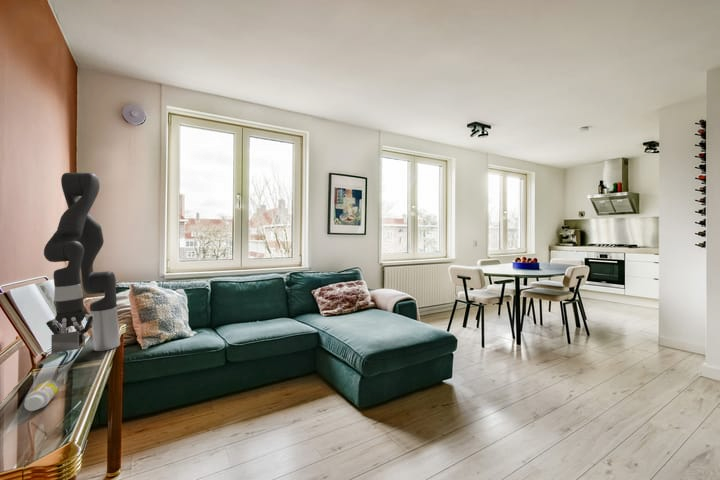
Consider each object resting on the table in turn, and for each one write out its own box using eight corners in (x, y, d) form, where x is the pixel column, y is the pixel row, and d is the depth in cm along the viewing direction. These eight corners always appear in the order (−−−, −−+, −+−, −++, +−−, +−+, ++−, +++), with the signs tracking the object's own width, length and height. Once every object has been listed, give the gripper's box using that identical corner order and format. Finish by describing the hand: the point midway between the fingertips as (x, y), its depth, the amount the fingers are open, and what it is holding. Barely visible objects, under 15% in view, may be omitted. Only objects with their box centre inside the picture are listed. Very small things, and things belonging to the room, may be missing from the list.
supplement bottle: (34, 397, 104) (18, 414, 94) (38, 379, 104) (22, 394, 95) (57, 397, 106) (43, 413, 97) (61, 379, 106) (47, 394, 97)
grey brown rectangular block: (68, 349, 124) (68, 332, 125) (91, 345, 127) (91, 329, 127) (51, 353, 112) (51, 334, 113) (77, 349, 115) (77, 331, 115)
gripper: (96, 293, 126) (101, 338, 127) (48, 298, 120) (53, 345, 121) (89, 297, 119) (94, 345, 120) (38, 302, 113) (43, 353, 114)
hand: (73, 345), depth 120 cm, fingers closed on grey brown rectangular block, 3 cm apart
